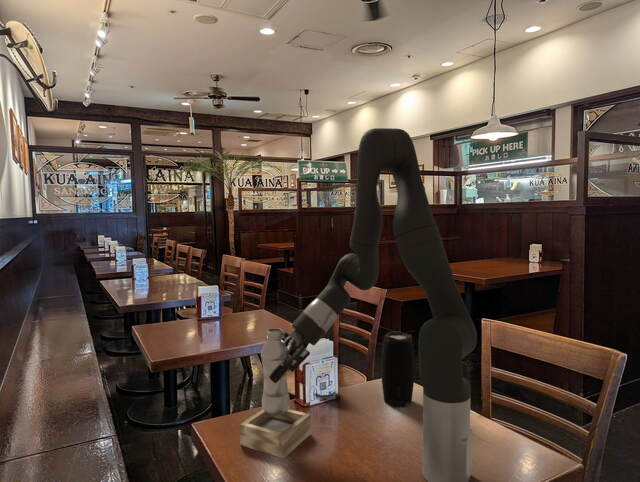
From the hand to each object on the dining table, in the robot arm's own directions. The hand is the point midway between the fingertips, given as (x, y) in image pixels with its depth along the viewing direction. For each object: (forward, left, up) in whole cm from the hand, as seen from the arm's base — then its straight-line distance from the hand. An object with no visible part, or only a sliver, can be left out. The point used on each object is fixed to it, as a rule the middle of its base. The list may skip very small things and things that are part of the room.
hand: (268, 375), depth 102 cm
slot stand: (-1, -1, -16) cm, 16 cm away
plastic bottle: (-1, -1, -9) cm, 10 cm away
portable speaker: (-20, -35, -16) cm, 44 cm away
